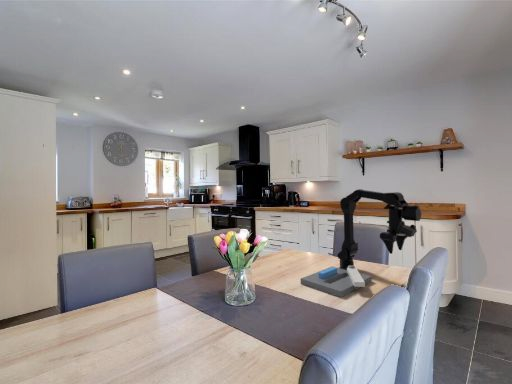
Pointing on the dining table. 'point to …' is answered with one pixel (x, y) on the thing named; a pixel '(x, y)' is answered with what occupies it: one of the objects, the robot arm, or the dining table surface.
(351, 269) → the bar
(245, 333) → the dining table surface
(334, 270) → the blue bar
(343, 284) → the board
